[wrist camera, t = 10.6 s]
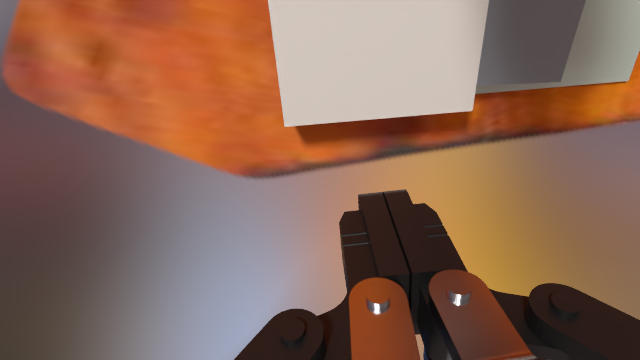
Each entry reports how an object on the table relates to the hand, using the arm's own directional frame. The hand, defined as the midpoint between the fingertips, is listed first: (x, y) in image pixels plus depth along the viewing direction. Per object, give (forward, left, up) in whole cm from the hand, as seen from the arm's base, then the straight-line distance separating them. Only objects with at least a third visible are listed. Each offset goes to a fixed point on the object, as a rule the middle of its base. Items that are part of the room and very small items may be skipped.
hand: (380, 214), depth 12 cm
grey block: (-11, +11, -24) cm, 29 cm away
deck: (-3, +2, -24) cm, 24 cm away
